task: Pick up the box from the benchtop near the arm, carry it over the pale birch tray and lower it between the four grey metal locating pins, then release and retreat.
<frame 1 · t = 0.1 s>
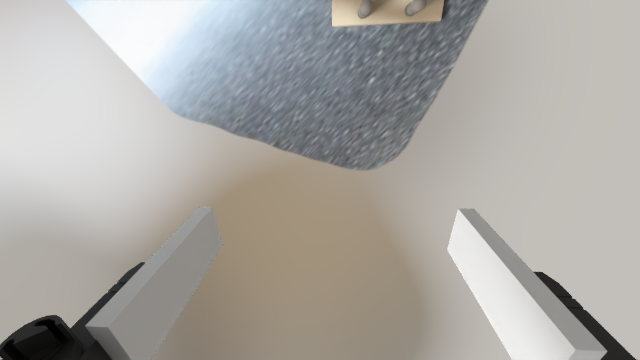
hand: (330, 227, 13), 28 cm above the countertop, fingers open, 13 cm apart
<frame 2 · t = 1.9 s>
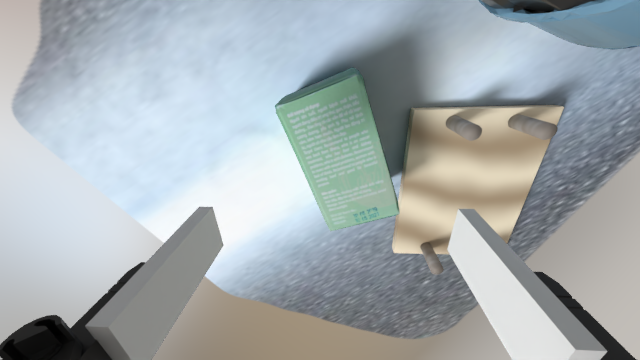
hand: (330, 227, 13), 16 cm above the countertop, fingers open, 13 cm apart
tray: (459, 187, 28), on the countertop
box: (341, 138, 27), on the countertop
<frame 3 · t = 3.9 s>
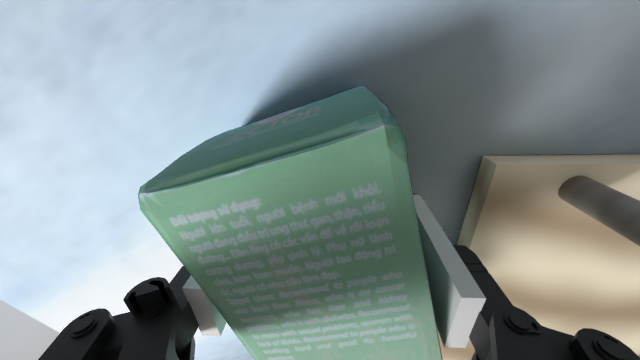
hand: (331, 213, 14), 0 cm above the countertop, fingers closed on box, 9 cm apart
tray: (551, 285, 16), on the countertop
box: (331, 208, 15), on the countertop, touching gripper
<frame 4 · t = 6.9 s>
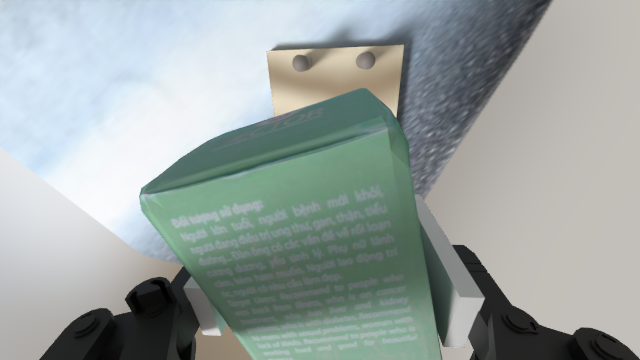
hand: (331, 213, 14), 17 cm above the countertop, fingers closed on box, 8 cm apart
tray: (334, 135, 29), on the countertop
box: (332, 209, 15), point 16 cm above the countertop, touching gripper
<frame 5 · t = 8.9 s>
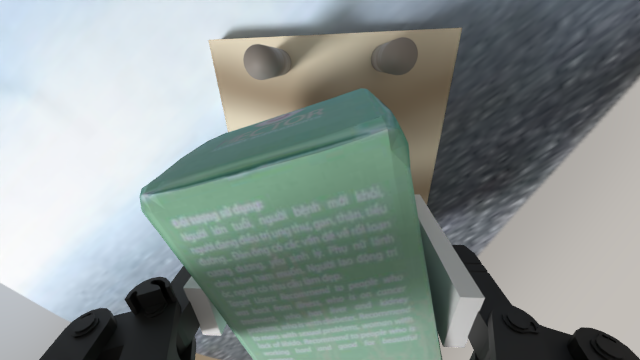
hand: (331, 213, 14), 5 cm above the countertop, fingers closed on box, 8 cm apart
tray: (332, 178, 18), on the countertop
box: (332, 209, 15), point 4 cm above the countertop, touching gripper
when the fingers open (4 cm above the countertop, at t = 10.0 s): box drops 2 cm, resting on tray.
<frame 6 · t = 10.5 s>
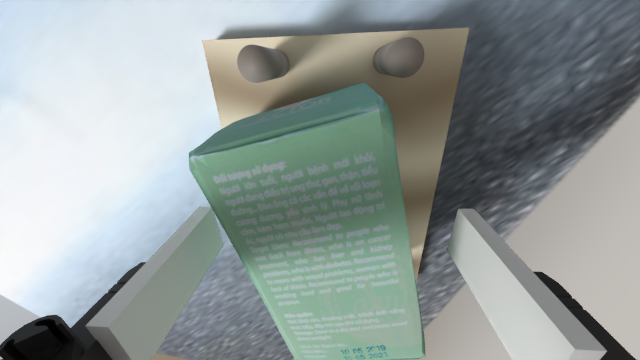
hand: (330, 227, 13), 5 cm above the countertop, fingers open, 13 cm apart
tray: (332, 184, 18), on the countertop
box: (332, 190, 17), point 1 cm above the countertop, touching tray
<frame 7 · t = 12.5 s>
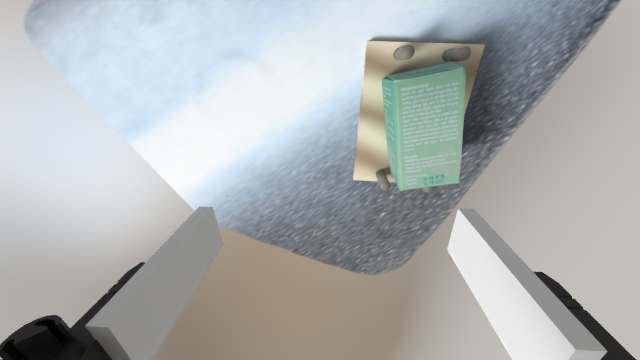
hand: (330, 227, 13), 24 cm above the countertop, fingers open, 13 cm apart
tray: (408, 119, 34), on the countertop
box: (410, 121, 33), point 1 cm above the countertop, touching tray
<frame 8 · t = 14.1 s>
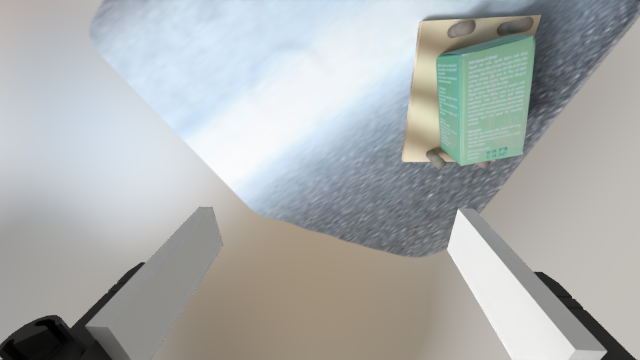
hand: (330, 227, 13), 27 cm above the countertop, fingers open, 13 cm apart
tray: (458, 97, 34), on the countertop
box: (463, 98, 33), point 1 cm above the countertop, touching tray
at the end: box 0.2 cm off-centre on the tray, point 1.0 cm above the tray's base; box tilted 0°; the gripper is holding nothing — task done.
